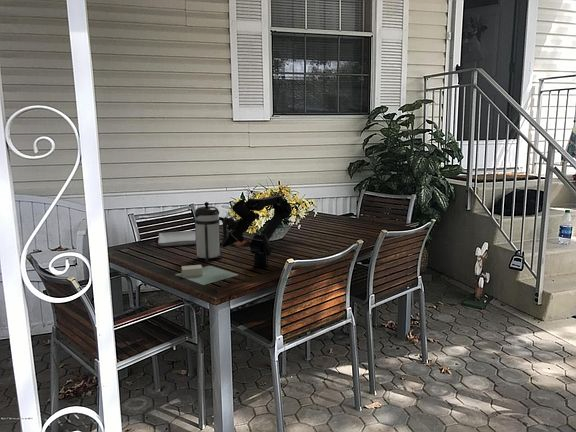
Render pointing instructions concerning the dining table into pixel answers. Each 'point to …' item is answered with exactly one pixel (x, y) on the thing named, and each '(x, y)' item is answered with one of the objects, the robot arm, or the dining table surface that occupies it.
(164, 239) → the square plate
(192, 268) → the card box
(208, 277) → the rubber mat
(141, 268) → the dining table surface
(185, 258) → the dining table surface
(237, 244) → the sunglasses case
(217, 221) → the coffee press
